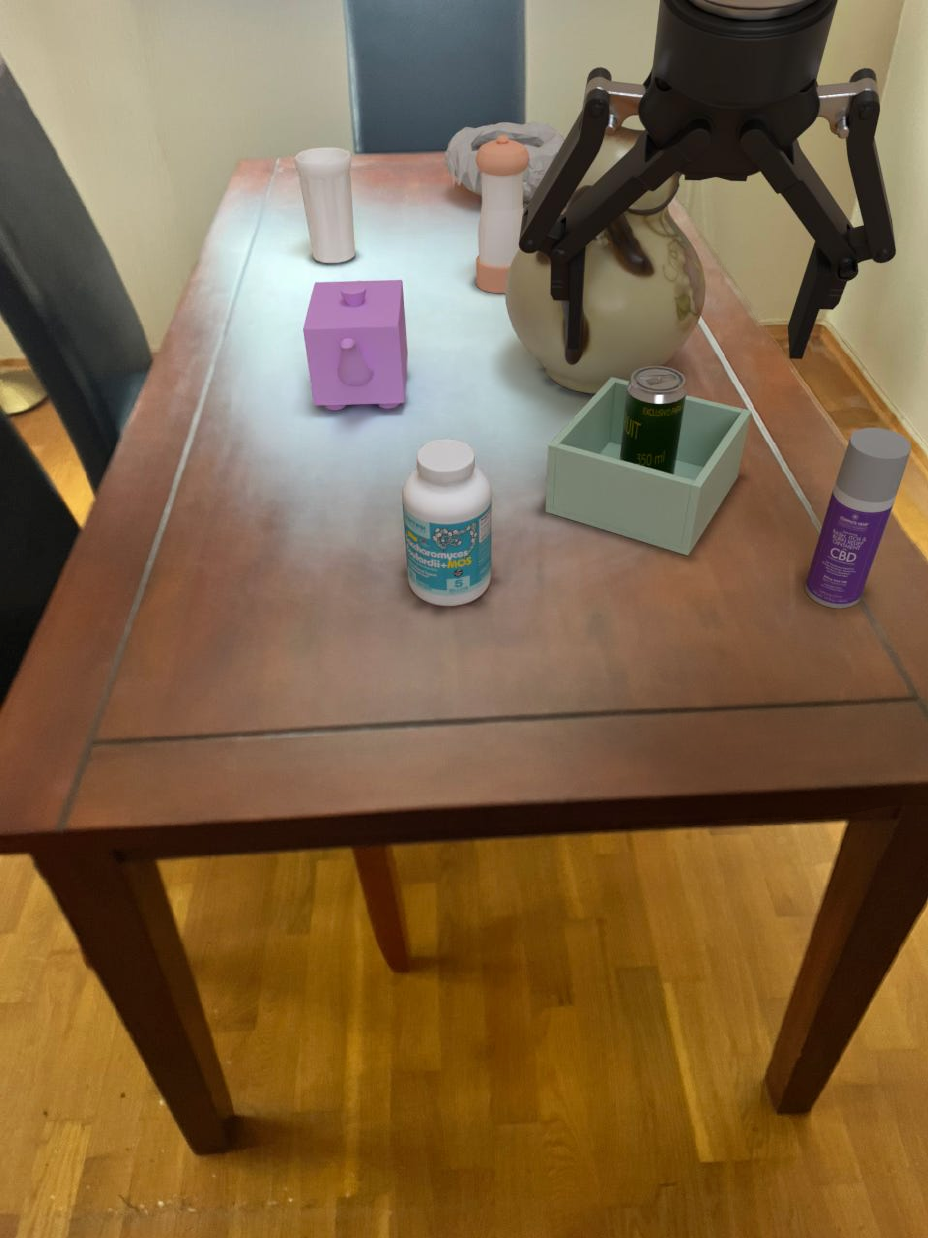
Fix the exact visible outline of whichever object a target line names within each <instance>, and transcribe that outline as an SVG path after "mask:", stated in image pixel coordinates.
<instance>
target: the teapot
mask: <svg viewBox="0 0 928 1238" xmlns="http://www.w3.org/2000/svg"><path fill="white" fill-rule="evenodd" d="M403 282H404V281H403V280H402V279H392V280H391V279H387V280H386V279H383V280H381V279H380V280H353V281H351V280H349V281H348V280H347V281H346V280H345V281H316V282H314V285H313V288H312V292H311V296H310V299H309V302H308V307H307V311H306V316H305V320H304V324H303V327H302V331H303V332H302V333H303V339H304V346H305V353H306V358H307V367H308V373H309V379H310V387H311V393H312V400H313V405H314V406H324V407H325V409H327V410H330V411H339V410H343V409H344V408H346V407H347V406H351V405H377V406H378V407H380V408H382V409H387V410H389V409H390V410H391V409H394V408H397V407H398V406H399V405H400V404H405V399H406V398H405V397H406V386H407V385H406V384H407V369H408V356H409V355H408V353H409V351H408V339H407V337H408V336H407V323H406V310H405V308H406V307H405V297H404V296H405V295H404V283H403Z"/></svg>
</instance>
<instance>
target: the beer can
mask: <svg viewBox="0 0 928 1238" xmlns="http://www.w3.org/2000/svg"><path fill="white" fill-rule="evenodd" d="M687 391H688V389H687V386H686V377H685V375H684V374H683V373H682V372H680V370H679V371H678V370H677V369H674V368H672V367H667V366H663V365H661V366H648V367H644V368H640V369H638V370H636V371H634V373H633V374H632V375H631V381H630V382H629V383H628V387H627V395H626V404H625V414H624V423H623V433H622V442H621V452H620V460H622V461H626V462H630V463H633V464H637V465H641V466H644V467H648V468H651V469H655V470H659V471H662V472H666V473H669V474H673V475H674V470H675V464H676V457H677V451H678V444H679V438H680V431H681V425H682V418H683V412H684V405H685V399H686V395H687Z"/></svg>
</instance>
